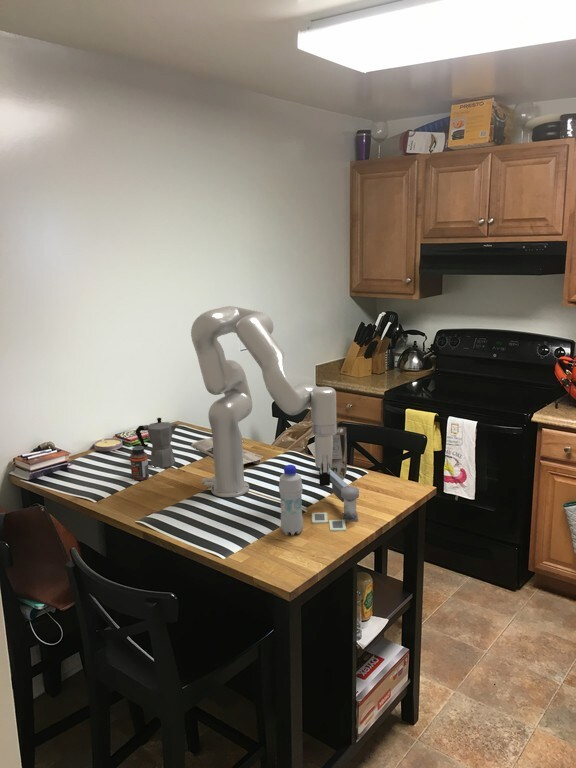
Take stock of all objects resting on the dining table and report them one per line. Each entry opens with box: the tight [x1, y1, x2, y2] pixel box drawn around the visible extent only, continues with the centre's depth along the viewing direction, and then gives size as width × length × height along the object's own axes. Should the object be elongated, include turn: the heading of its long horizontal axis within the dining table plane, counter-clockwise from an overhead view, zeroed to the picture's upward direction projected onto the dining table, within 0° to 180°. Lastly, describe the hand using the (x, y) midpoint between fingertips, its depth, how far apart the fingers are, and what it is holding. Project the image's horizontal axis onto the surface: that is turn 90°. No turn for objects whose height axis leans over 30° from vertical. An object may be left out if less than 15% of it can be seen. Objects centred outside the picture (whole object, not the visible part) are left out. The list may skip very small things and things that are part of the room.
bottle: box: [278, 464, 304, 536], centre depth 174 cm, size 7×7×20 cm
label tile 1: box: [311, 512, 329, 524], centre depth 184 cm, size 4×6×1 cm
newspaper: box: [190, 437, 264, 465], centre depth 239 cm, size 35×12×4 cm, turn 37°
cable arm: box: [329, 468, 360, 503], centre depth 189 cm, size 21×5×6 cm, turn 19°
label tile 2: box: [328, 519, 347, 532], centre depth 179 cm, size 4×6×1 cm
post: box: [341, 499, 359, 522], centre depth 183 cm, size 4×4×7 cm
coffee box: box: [329, 426, 348, 481], centre depth 215 cm, size 9×6×16 cm
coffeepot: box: [135, 417, 179, 469], centre depth 229 cm, size 15×9×18 cm, turn 103°
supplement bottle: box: [129, 445, 150, 481], centre depth 217 cm, size 6×6×11 cm
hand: (324, 484), depth 191 cm, fingers closed
